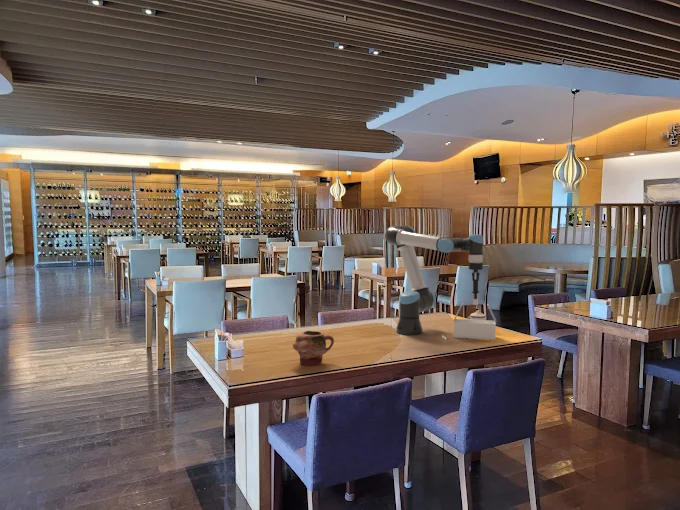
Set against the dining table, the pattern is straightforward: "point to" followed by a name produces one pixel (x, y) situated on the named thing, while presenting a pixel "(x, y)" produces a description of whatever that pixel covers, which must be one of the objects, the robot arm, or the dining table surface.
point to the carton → (474, 329)
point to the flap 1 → (458, 311)
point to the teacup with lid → (477, 316)
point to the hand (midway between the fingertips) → (475, 304)
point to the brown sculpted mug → (312, 347)
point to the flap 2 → (491, 312)
